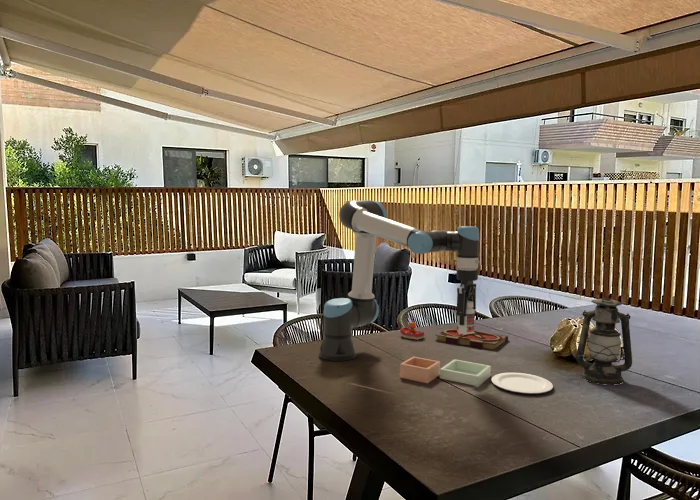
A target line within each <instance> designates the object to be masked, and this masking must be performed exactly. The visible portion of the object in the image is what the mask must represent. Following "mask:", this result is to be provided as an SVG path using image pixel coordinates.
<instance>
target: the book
mask: <svg viewBox="0 0 700 500" xmlns="http://www.w3.org/2000/svg"><path fill="white" fill-rule="evenodd" d="M435 336H436V337H437V338H436V339H435V340H434V342H439V343H445V344H451V345H456V346H457V345H459V346H465V347H469V348H475V349H481V350H489V351H494V352H495V351H496V350H498V349H499V345H500V346H501V345H502V344H503V343H505V342H508V341H509V336H508V335H501V334H494V333H490V332H484V331H478V330H474V333H472V334H459V333H458V332H457V328H454V327H449V328H447V329H444V330H443V331H440V332H439V333H436V334H435Z"/></svg>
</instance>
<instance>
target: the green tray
mask: <svg viewBox="0 0 700 500" xmlns="http://www.w3.org/2000/svg"><path fill="white" fill-rule="evenodd" d="M491 370H492V367H491V365H488V364H483V363H477V362H471V361H467V360H466V361H465V360H461V359H456V358H455V359H452V360H451V361H450V362H448V363H446V364H445V365H443V366H442V367H440V375H439V379H442V380H446V381H451V382H457V383H462V384H466V385H471V386H473V388H477V389H478V388H479V387H481V385H482V384H483V383H485V382H486V381H487V380H488V379H489V378H491V374H492V372H491Z"/></svg>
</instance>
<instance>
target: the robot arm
mask: <svg viewBox="0 0 700 500" xmlns="http://www.w3.org/2000/svg"><path fill="white" fill-rule="evenodd" d="M338 217H339V221H340V223H341V224H342V226H344V227H345V228H347V229H349V230H352V232H353V234H354V235H355V244H354V246H355V247H354V256H353V270H352V283H351V284H352V286H351V291H349V292H348V293H347V297H346V298H345V297H338V298H332V299H329V300H327V301H326V302H325V303H324V305H323V338H322V342H321V345H320V347H319V351H318V352H319V355H318V356H319V357H320V358H321V359H322V360H327V361H332V362H333V361H334V362H342V361H344V362H345V361H349V360H352V359H355V357H356V348H355V345H354V342H353V337H352V336H353V335H352V333H353V332H352V331H353V329H354V328H358V327H363V326H367V325H370V324H372V323H373V322H375V321H376V319H377V318H378V316H379V313H380V306H379V304H378V302H377V300H376V299H375V294H374V293H373V292H372V290H373V278H374V266H375V257H376V255H375V254H376V244H377V243H376V241H377V237H378V238H382V239H384V240H387V241H390V242H392V243H395V244H398V245H400V246H403V247H405V248H408V249H409V250H410V251H411V252H412V253H414V254H417V255H418V254H420V255H423V254H424V255H425V254H429V253H438V252H456V255H457V256H456V268H457V269H456V280H458V281H460V285H459V287H457V288H456V292H457V296H456V298H457V299H456V314H455V316H456V317H457V316H459V332H458V333H459V334H466V330H467V316H466V310H467V303H468V301H472V302H473V307H472V308H473V309H474V311H475V314H476V312H477V310H476V309H477V301H476V300H477V295H476V294H477V283H474V282H475V281H478V279H479V270H478V268H479V264H480V260H479V245H480V244H479V243H480V230H479V227H477V226H474V225H473V226H471V225H469V226H468V225H461V226H458V227H457V230H455V231H453V230H442V229H439V230H438V229H435V230H431V231H425V230H422V229H418V228H416V227H414V226H410V225H407V224H405V223H402V222H398V221H395V220H394V219H393V220H392V219H389V218H388V214H387V210H386V208H385V207H384V205H383V204H382V203H381V202H379V201H378V200H377V201H376V200H368V199H367V200H365V199H364V200H349V201H347V202H345V203H343V205H341V208H340V209H339V214H338Z"/></svg>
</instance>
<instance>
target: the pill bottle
mask: <svg viewBox="0 0 700 500" xmlns="http://www.w3.org/2000/svg"><path fill="white" fill-rule="evenodd" d="M472 307H473V302H472V301H468V303H467V310H466V316H467V330H466V334H472V333H474V331H475V314H476V313H475V311H474V309H473V308H472ZM456 317H457V318H456V329H457V332H459V316H456Z"/></svg>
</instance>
